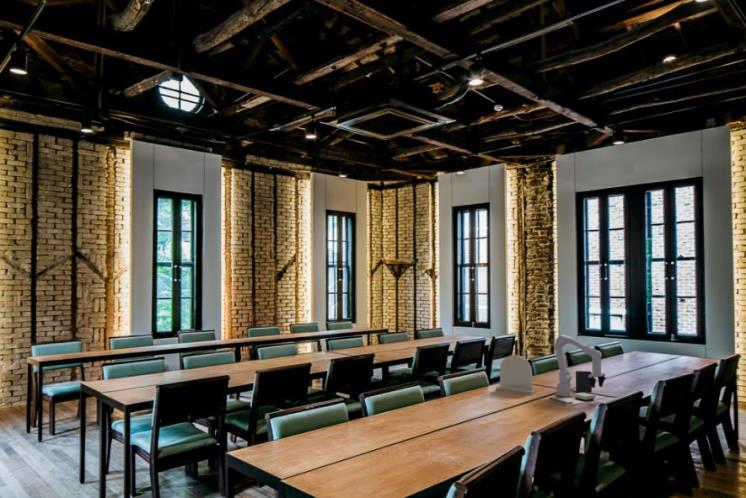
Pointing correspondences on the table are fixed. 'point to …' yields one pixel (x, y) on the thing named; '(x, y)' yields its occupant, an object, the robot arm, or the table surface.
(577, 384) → the calculator
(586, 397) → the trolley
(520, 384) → the award
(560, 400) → the dock
